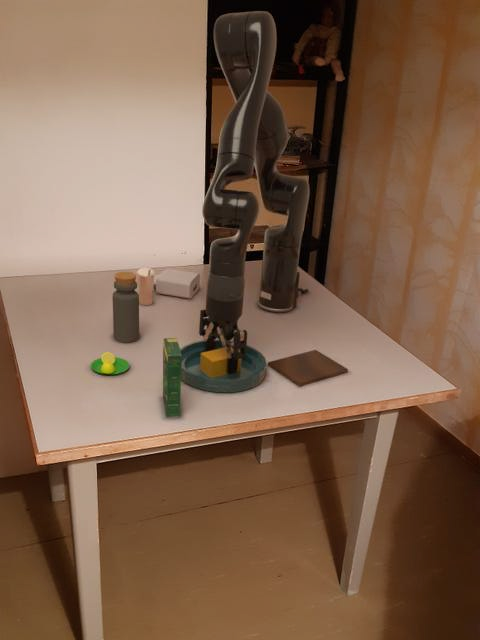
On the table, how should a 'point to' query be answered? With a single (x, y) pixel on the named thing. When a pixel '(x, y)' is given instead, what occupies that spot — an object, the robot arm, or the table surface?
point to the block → (216, 363)
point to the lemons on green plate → (109, 364)
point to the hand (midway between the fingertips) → (220, 364)
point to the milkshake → (145, 285)
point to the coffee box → (171, 377)
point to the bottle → (125, 308)
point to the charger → (177, 283)
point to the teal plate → (235, 382)
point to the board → (307, 367)
